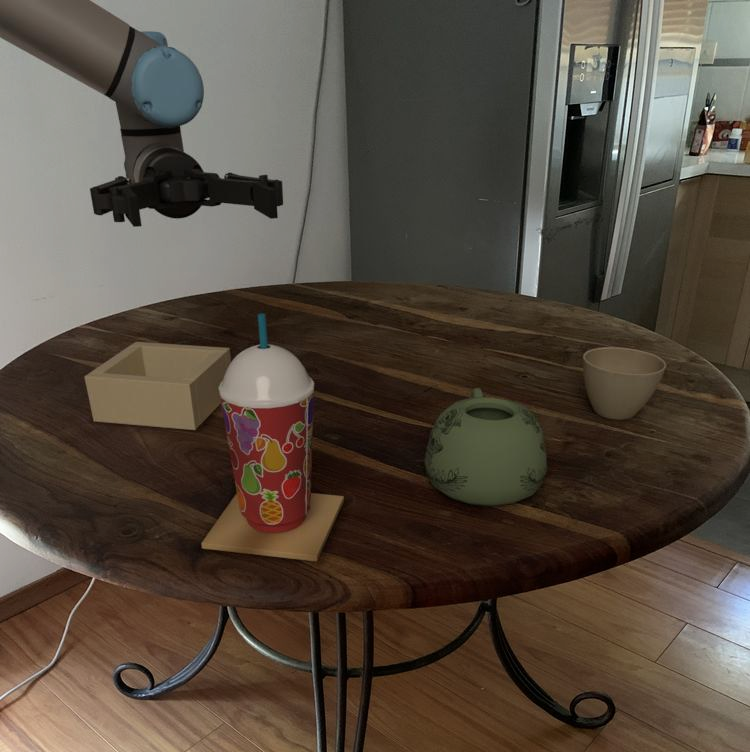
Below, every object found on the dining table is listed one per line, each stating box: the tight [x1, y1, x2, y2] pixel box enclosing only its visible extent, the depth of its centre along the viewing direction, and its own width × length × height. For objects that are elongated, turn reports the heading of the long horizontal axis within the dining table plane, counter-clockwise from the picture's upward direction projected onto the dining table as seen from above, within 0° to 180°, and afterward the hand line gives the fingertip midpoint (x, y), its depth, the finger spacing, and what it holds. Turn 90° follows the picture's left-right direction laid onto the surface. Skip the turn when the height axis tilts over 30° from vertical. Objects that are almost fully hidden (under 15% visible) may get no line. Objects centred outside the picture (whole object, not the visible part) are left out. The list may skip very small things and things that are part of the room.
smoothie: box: [218, 313, 315, 533], centre depth 66 cm, size 8×8×20 cm
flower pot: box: [582, 346, 667, 421], centre depth 94 cm, size 10×10×7 cm
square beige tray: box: [84, 341, 232, 431], centre depth 95 cm, size 14×14×6 cm
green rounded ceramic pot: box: [423, 387, 548, 508], centre depth 78 cm, size 16×13×9 cm
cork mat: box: [201, 492, 345, 562], centre depth 72 cm, size 11×11×1 cm
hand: (206, 208), depth 72 cm, fingers open, 13 cm apart
